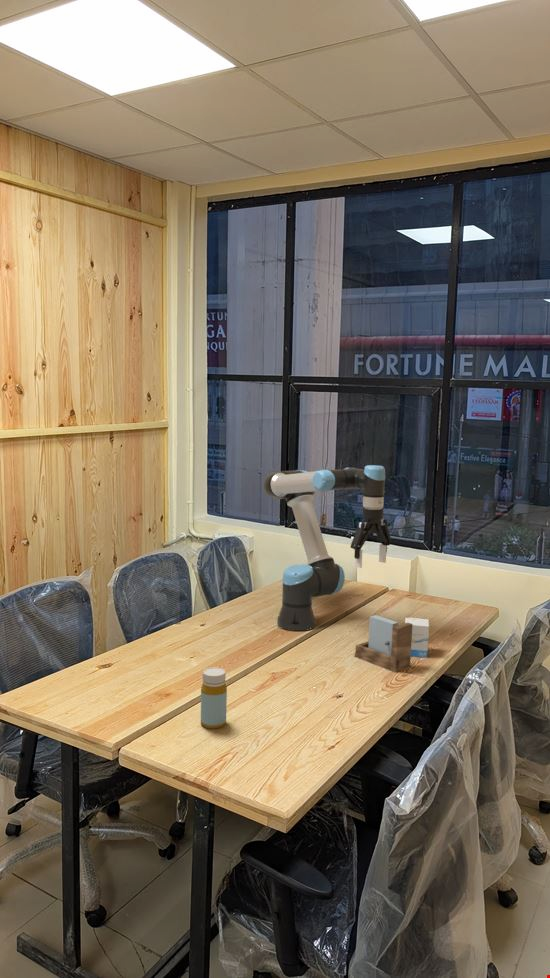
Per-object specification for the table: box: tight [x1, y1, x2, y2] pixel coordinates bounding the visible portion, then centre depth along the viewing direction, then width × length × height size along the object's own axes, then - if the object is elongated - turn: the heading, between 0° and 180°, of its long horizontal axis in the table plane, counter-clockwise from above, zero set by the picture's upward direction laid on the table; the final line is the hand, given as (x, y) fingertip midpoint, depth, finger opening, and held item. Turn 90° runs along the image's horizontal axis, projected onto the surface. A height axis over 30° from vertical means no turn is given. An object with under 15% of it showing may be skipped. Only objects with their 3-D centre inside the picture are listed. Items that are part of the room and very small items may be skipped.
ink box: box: [404, 617, 430, 658], centre depth 253 cm, size 9×8×12 cm
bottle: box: [200, 666, 228, 730], centre depth 194 cm, size 7×7×15 cm
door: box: [368, 614, 399, 656], centre depth 242 cm, size 10×4×14 cm, turn 42°
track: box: [354, 622, 412, 673], centre depth 243 cm, size 18×8×15 cm, turn 42°
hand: (370, 564), depth 262 cm, fingers open, 13 cm apart
